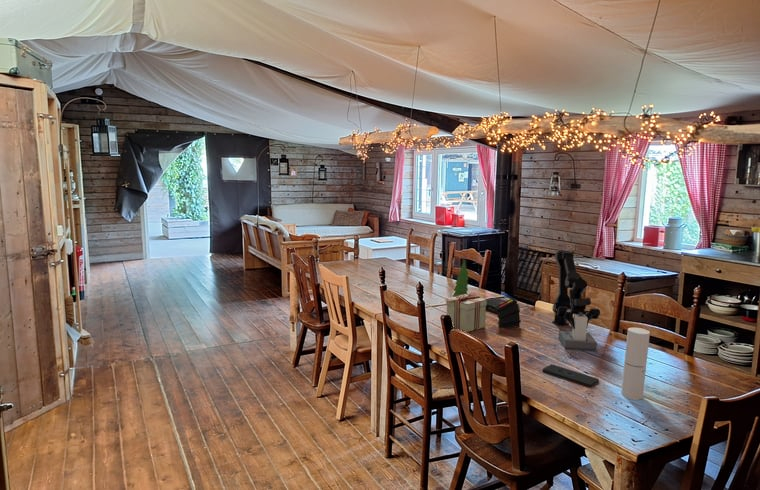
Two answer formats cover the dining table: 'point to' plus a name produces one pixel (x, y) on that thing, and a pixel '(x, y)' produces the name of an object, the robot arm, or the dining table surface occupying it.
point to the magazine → (508, 314)
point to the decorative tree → (461, 281)
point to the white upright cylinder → (579, 327)
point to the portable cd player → (494, 304)
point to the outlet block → (577, 342)
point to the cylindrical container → (635, 363)
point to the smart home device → (571, 375)
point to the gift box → (467, 311)
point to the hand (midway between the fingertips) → (580, 328)
